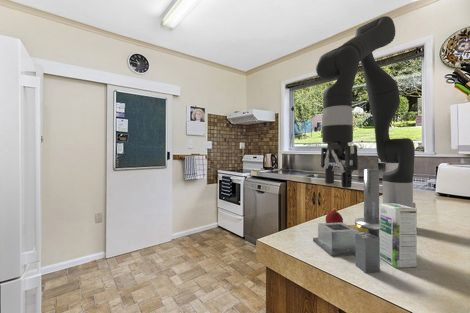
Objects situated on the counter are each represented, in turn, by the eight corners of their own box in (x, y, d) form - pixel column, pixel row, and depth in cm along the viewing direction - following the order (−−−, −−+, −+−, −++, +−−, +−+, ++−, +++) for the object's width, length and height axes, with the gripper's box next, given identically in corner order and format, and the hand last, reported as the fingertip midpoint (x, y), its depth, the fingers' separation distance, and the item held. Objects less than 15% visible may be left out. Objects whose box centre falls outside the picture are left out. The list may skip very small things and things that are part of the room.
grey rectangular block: (369, 264, 56) (368, 232, 56) (379, 272, 53) (379, 238, 53) (355, 265, 56) (355, 233, 56) (365, 273, 52) (365, 238, 52)
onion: (345, 233, 79) (344, 210, 79) (327, 232, 80) (327, 210, 80) (340, 228, 84) (340, 207, 84) (324, 227, 85) (324, 206, 85)
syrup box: (378, 257, 60) (378, 203, 60) (399, 256, 61) (398, 202, 61) (395, 268, 54) (395, 208, 54) (418, 267, 55) (417, 207, 55)
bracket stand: (372, 237, 74) (372, 168, 74) (400, 252, 63) (399, 170, 63) (313, 240, 72) (312, 169, 72) (331, 256, 61) (330, 171, 61)
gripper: (368, 121, 54) (368, 189, 54) (336, 128, 68) (337, 182, 68) (337, 120, 53) (337, 189, 53) (312, 128, 68) (312, 182, 68)
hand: (337, 185), depth 61 cm, fingers open, 8 cm apart
